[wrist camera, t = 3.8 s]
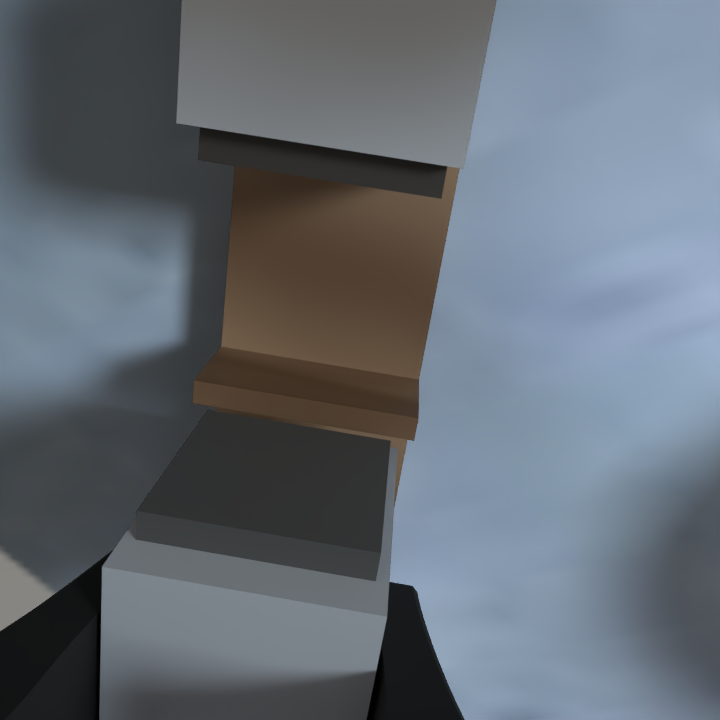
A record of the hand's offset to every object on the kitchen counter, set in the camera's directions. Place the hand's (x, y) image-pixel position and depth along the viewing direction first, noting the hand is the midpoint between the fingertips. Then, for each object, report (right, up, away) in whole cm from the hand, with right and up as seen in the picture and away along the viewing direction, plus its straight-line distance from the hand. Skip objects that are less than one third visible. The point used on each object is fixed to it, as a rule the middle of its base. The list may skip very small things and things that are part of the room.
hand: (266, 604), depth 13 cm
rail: (+1, +6, +3) cm, 7 cm away
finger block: (0, +1, +2) cm, 2 cm away
